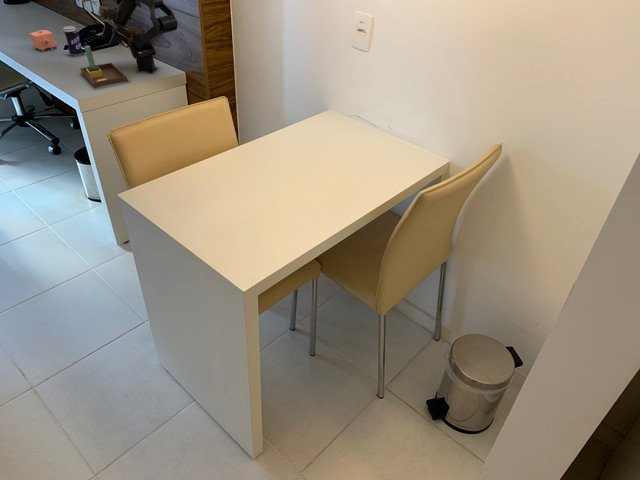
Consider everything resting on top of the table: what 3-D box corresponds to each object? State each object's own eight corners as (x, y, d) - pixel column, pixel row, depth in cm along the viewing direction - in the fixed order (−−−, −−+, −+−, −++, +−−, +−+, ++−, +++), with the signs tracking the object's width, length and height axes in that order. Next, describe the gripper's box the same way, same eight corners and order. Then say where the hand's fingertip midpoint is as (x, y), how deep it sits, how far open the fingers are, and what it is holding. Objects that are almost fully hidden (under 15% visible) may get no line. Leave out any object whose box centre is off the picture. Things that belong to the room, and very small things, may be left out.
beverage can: (74, 57, 225) (66, 30, 217) (67, 54, 227) (59, 27, 220) (85, 54, 228) (78, 27, 221) (79, 51, 231) (71, 24, 223)
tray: (81, 74, 208) (80, 68, 207) (112, 68, 215) (111, 62, 213) (95, 88, 197) (93, 82, 195) (127, 82, 203) (126, 76, 201)
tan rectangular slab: (106, 81, 202) (105, 78, 201) (108, 82, 200) (108, 80, 199) (96, 83, 200) (96, 80, 199) (99, 85, 198) (98, 82, 197)
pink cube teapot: (43, 53, 228) (37, 35, 222) (32, 47, 234) (26, 29, 229) (60, 49, 232) (54, 31, 227) (49, 43, 238) (43, 26, 233)
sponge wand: (99, 72, 209) (91, 43, 202) (102, 76, 206) (95, 47, 198) (87, 74, 207) (79, 45, 199) (90, 78, 204) (82, 49, 196)
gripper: (100, -9, 199) (81, 24, 202) (114, 4, 188) (94, 39, 191) (124, 8, 208) (105, 39, 211) (139, 21, 197) (120, 54, 200)
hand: (106, 42), depth 203 cm, fingers open, 9 cm apart
